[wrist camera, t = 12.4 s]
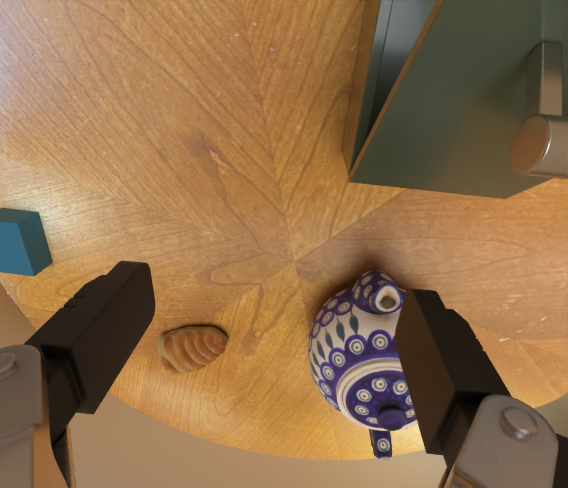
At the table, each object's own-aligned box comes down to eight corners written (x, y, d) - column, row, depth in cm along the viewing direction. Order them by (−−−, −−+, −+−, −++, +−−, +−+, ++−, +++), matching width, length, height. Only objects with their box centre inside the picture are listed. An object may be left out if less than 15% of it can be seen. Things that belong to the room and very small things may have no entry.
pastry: (212, 312, 44) (204, 333, 41) (238, 347, 47) (232, 369, 44) (157, 333, 47) (145, 354, 44) (184, 365, 50) (175, 387, 46)
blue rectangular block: (1, 208, 40) (-23, 218, 37) (38, 212, 40) (17, 223, 37) (18, 258, 43) (-3, 272, 40) (52, 262, 43) (34, 276, 40)
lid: (455, -42, 9) (446, 129, 8) (915, -4, 9) (944, 180, 8) (349, 173, 25) (343, 237, 25) (506, 190, 25) (504, 255, 24)
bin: (374, -53, 26) (398, -105, 18) (527, -41, 25) (619, -88, 18) (340, 150, 33) (348, 176, 26) (459, 163, 33) (503, 192, 25)
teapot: (417, 386, 48) (455, 506, 35) (311, 383, 49) (310, 497, 36) (445, 226, 36) (519, 316, 23) (306, 228, 38) (300, 315, 25)
